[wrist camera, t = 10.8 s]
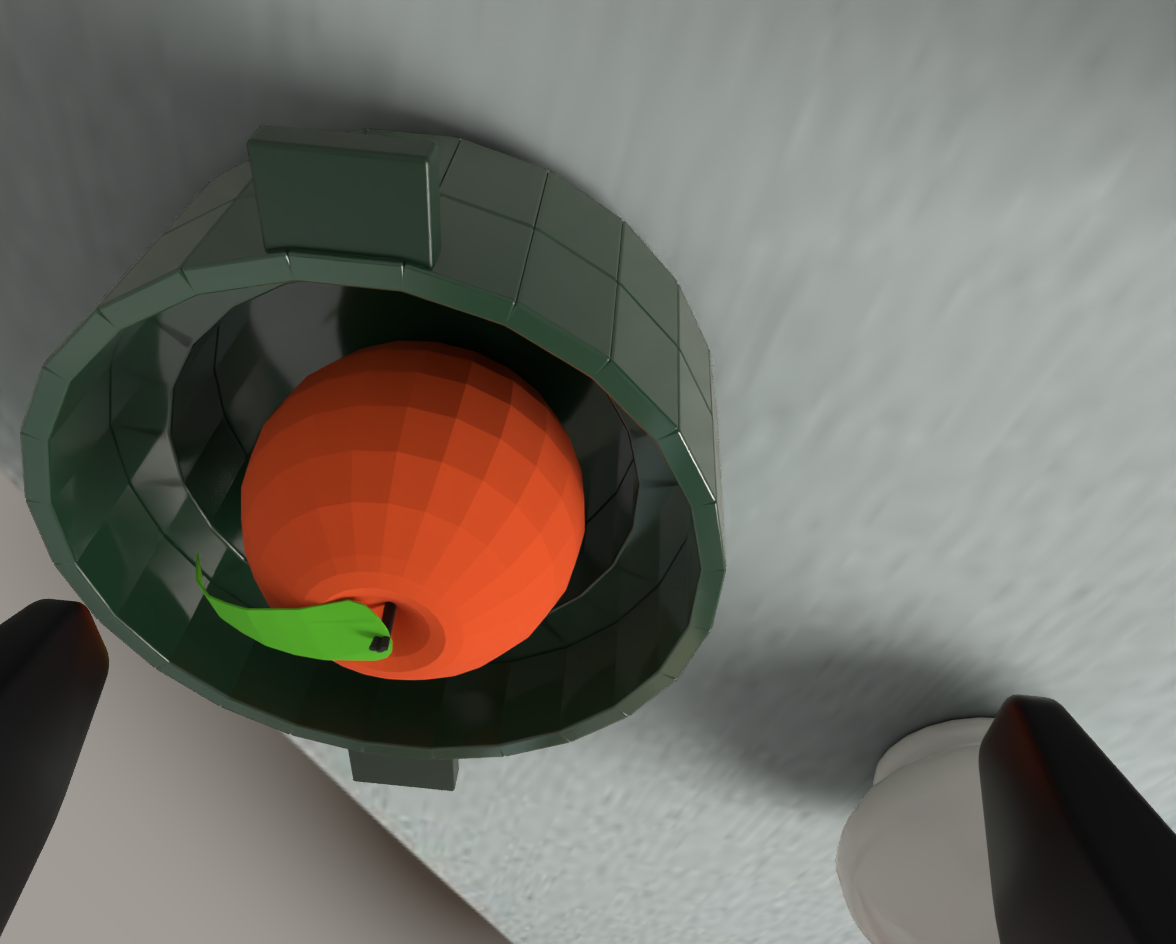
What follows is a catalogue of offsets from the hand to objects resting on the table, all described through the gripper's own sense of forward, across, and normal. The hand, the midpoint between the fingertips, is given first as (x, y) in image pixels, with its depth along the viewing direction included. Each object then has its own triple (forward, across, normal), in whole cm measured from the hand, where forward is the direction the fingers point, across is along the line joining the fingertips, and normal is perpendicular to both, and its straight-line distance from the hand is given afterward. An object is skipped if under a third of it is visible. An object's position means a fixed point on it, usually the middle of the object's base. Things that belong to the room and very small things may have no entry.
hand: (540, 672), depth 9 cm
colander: (+12, +4, +6) cm, 14 cm away
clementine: (+12, +4, +6) cm, 14 cm away
